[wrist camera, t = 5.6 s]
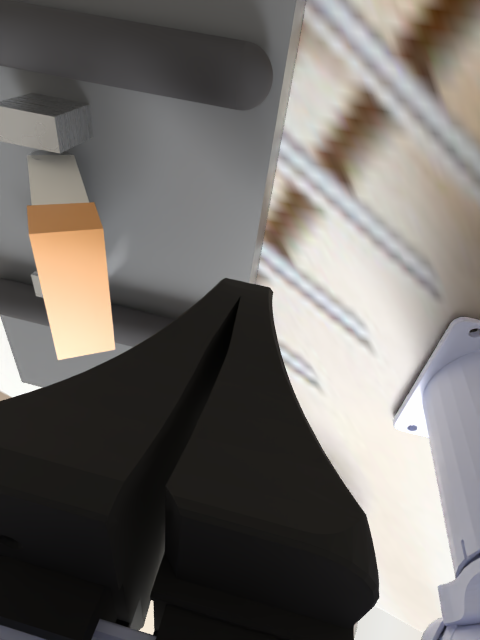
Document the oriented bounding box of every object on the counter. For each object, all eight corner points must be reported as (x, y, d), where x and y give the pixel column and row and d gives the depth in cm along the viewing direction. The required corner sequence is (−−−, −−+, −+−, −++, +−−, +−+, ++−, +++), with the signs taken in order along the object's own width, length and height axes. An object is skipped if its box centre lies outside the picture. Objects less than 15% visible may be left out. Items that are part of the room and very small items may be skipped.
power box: (315, -52, 12) (300, -83, 8) (235, 393, 24) (214, 466, 20) (-56, -107, 13) (-233, -159, 9) (51, 347, 25) (-2, 408, 21)
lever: (74, 145, 14) (103, 228, 10) (88, 248, 16) (115, 349, 12) (22, 145, 13) (29, 234, 9) (44, 252, 16) (57, 360, 11)
